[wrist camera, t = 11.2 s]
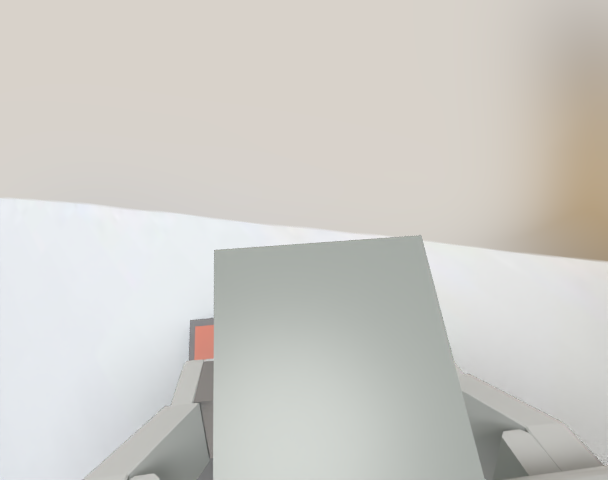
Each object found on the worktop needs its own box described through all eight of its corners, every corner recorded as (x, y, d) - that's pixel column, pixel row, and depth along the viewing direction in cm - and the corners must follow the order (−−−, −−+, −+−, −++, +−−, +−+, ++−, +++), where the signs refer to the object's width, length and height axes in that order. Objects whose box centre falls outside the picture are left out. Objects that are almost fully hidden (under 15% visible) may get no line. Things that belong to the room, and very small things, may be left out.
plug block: (344, 330, 16) (421, 235, 7) (362, 458, 14) (505, 560, 5) (255, 338, 16) (214, 250, 7) (260, 471, 14) (212, 604, 5)
